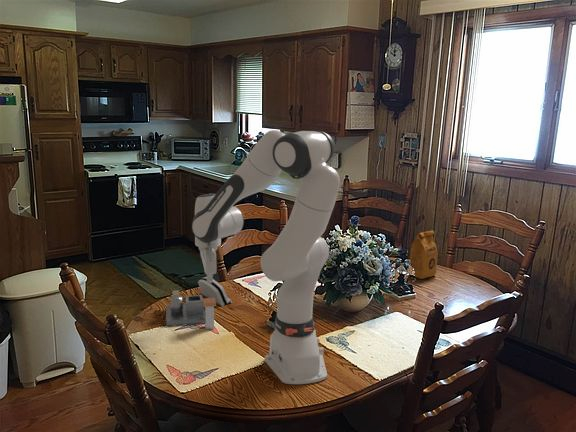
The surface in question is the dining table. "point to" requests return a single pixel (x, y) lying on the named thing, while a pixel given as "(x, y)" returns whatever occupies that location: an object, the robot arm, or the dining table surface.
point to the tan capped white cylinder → (209, 312)
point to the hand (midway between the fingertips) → (208, 277)
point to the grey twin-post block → (185, 310)
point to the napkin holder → (214, 291)
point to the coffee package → (424, 255)
